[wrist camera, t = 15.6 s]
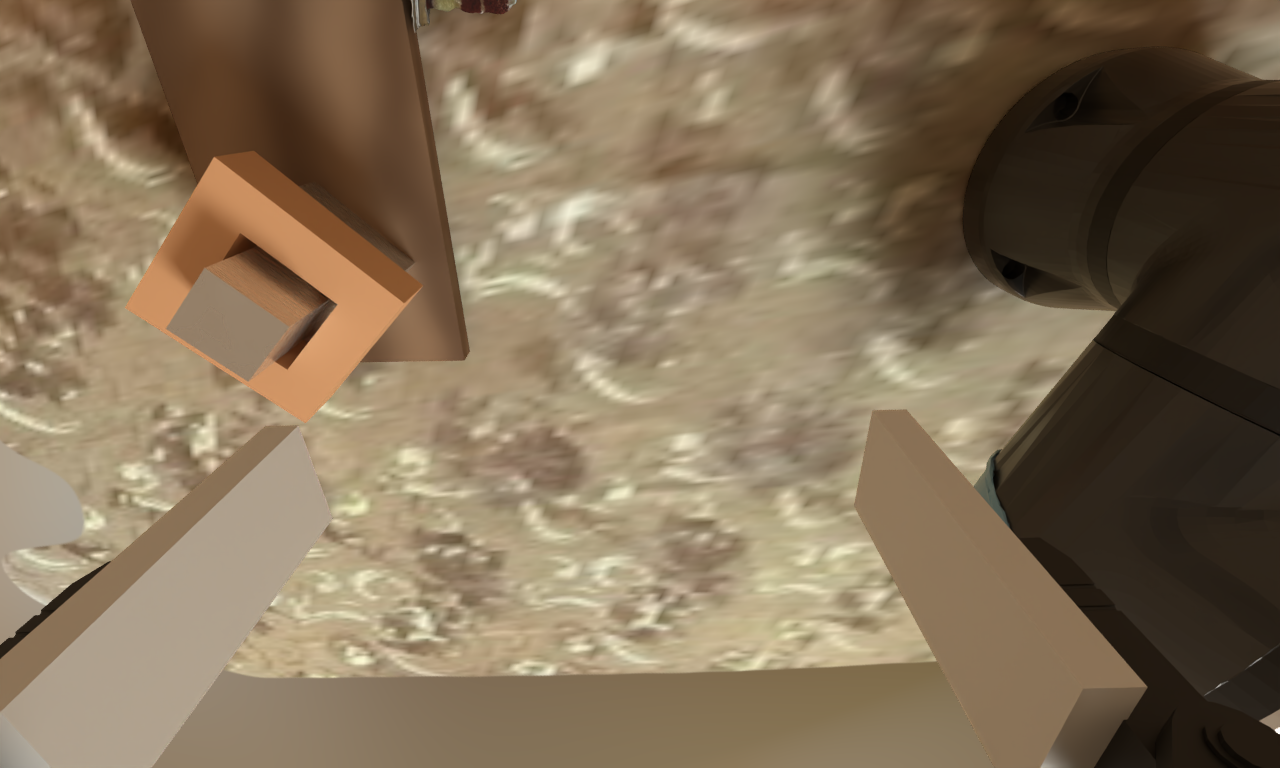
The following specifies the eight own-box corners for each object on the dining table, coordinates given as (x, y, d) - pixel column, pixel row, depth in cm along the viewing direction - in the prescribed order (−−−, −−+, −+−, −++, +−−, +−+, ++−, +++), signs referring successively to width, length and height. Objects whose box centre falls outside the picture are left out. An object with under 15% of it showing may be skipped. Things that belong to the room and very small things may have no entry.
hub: (315, 181, 33) (185, 218, 23) (415, 262, 35) (335, 326, 26) (259, 264, 35) (119, 329, 25) (356, 334, 37) (262, 419, 28)
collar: (253, 150, 27) (214, 156, 25) (423, 285, 31) (404, 303, 28) (168, 289, 31) (124, 307, 28) (330, 397, 34) (305, 423, 31)
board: (362, -290, 25) (347, -312, 24) (469, 351, 40) (464, 360, 39) (49, -291, 25) (17, -313, 23) (275, 354, 40) (262, 363, 38)
